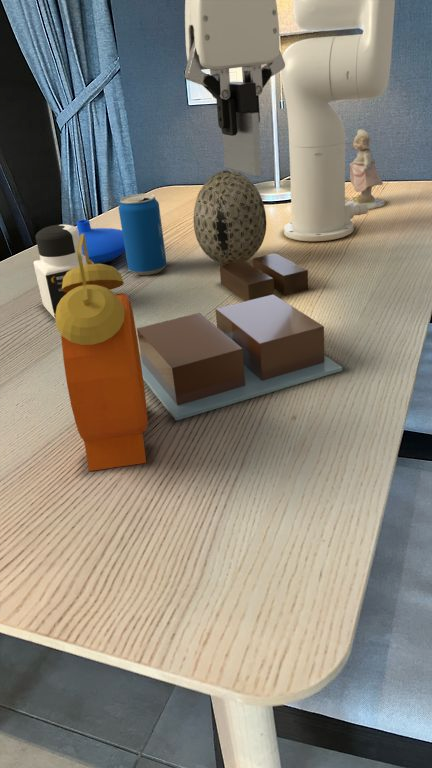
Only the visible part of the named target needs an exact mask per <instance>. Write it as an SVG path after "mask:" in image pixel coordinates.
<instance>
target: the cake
mask: <svg viewBox="0 0 432 768" xmlns="http://www.w3.org/2000/svg"><path fill="white" fill-rule="evenodd" d="M214 310H215V320H216V325H215V324H213V322H212V321H210V320H209V319H208V318H207V317H206V316H205V315H203V314H202V313H201V312H198V313H193V314H189V315H186V316H181V317H177V318H172V319H169V320H165V321H161V322H156V323H153V324H148V325H145V326H141V327H137V328H136V334H137V340H138V346H139V353H140V360H141V367H142V374H143V382H144V383H145V384H146V385H147V386H148V387H149V389H150V390H151V391H152V392H153V394H154V395H155V396H156V398H157V399H158V400H159V402H160V403H161V404H162V405H163V407H164V408H165V409H166V411H167V412H168V413H169V414H170V416H171V417H172V418H173V420H174V421H175V422H177V421H181V420H184V419H188V418H190V417H195V416H198V415H200V414H203V413H207V412H210V411H214V410H217V409H220V408H223V407H227V406H230V405H234V404H236V403H241V402H244V401H246V400H250V399H254V398H256V397H260V396H264V395H266V394H267V395H268V394H270V393H273V392H276V391H279V390H283V389H287V388H290V387H293V386H296V385H300V384H303V383H307V382H309V381H313V380H316V379H320V378H324V377H326V376H327V377H328V376H330V375H333V374H336V373H341V372H342V371H343V366H341V365H340V364H339V363H337V362H335V361H334V360H333V359H331V358H330V357H328V356H327V355H326V354H325V326H324V325H323V324H321V323H320V322H318V321H317V320H315V319H313V318H312V317H310V316H308V315H307V314H306V313H303V312H302V311H300V310H299V309H298V308H296V307H294V306H292V305H291V304H290V303H288V302H286V301H285V300H283V299H281V298H280V297H279V296H277V295H275V294H274V295H269V296H265V297H261V298H257V299H253V300H249V301H242V302H237V303H234V304H229V305H226V306H221V307H217V308H215V309H214Z"/></svg>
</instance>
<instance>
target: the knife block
mask: <svg viewBox="0 0 432 768" xmlns="http://www.w3.org/2000/svg"><path fill="white" fill-rule="evenodd" d="M219 278H220V285H221V286H223V287H224V288H226V289H227V290H229V291H230V292H231V293H233V294H234V295H235V296H237V297H238V298H240V299H241V300H242V301H243V302H245V301H249V300H253V299H257V298H261V297H265V296H269V295H275V291H277V293H280V294H281V295H283V296H288V295H292V294H295V293H301V292H303V291H308V290H309V269H307V268H305V267H303V266H301V265H299V264H297V263H295V262H294V261H291V260H289V259H287V258H286V257H284V256H281V255H280V254H278V253H277V252H276V253H275V252H274V253H270V254H266V255H261V256H256V257H252V264H249V263H248V262H246V261H239V262H234V263H230V264H221V265H219Z"/></svg>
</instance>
